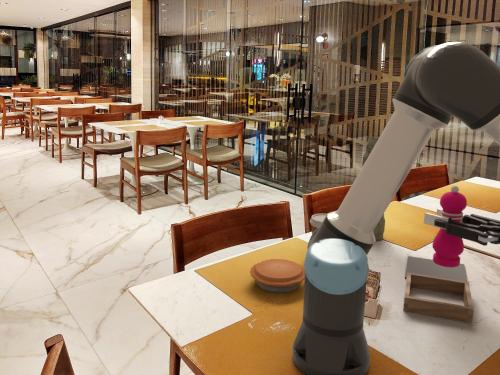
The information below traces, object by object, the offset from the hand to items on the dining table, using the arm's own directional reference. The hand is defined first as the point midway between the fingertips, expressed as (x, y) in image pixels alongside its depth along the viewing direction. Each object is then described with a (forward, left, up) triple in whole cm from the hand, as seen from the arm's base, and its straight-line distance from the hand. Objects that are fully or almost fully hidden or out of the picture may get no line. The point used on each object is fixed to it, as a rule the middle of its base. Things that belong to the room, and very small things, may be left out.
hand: (431, 215), depth 114 cm
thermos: (+34, +18, -20) cm, 44 cm away
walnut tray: (-7, -3, -20) cm, 22 cm away
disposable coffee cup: (+13, +30, -20) cm, 39 cm away
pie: (-12, +37, -21) cm, 44 cm away
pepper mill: (-3, -5, -11) cm, 12 cm away
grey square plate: (+12, -3, -20) cm, 24 cm away
